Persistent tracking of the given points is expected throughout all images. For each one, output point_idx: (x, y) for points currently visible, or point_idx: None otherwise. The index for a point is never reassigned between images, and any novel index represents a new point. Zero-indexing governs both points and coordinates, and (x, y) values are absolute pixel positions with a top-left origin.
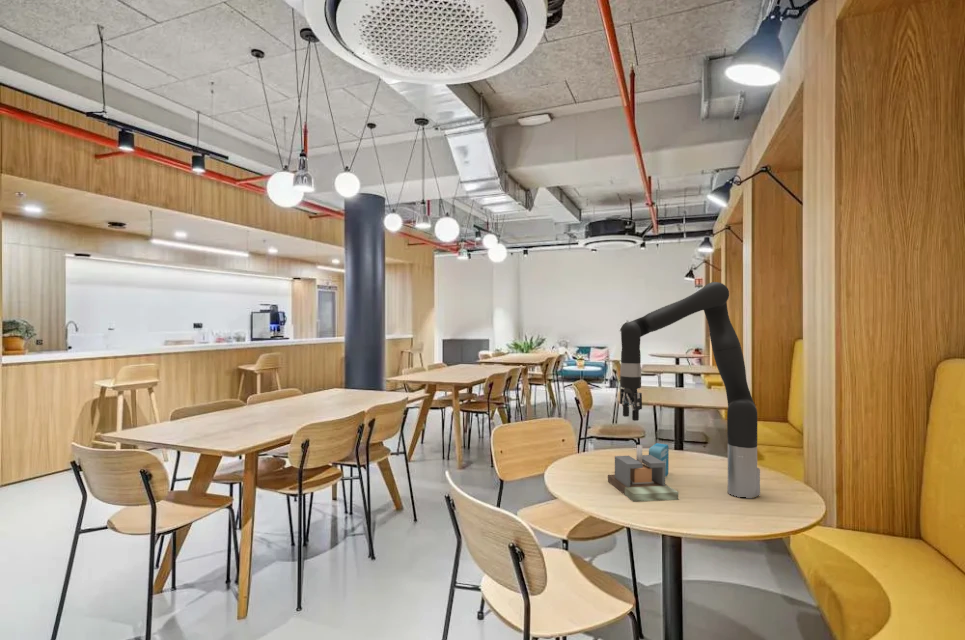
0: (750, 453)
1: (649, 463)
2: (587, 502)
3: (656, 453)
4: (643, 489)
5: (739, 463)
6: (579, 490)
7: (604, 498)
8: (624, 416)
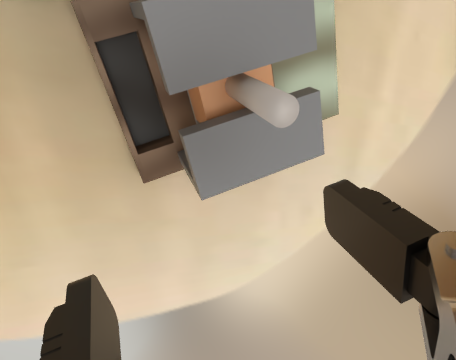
0: None
1: (305, 52)
2: (323, 217)
3: None
4: (300, 75)
5: None
6: (241, 242)
7: (299, 182)
8: (112, 308)
